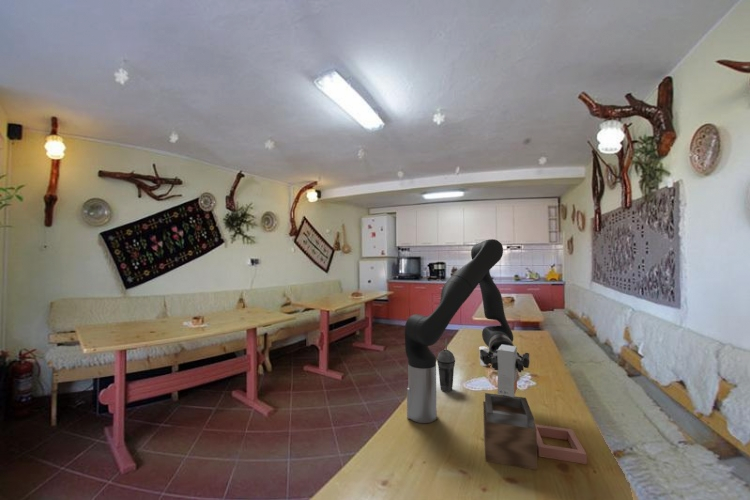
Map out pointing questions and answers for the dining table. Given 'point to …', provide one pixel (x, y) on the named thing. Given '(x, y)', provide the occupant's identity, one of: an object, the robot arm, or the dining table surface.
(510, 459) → the walnut pedestal
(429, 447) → the dining table surface
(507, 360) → the skincare box
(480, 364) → the milkshake
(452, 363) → the beverage cup
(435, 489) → the dining table surface
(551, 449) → the lower collar
